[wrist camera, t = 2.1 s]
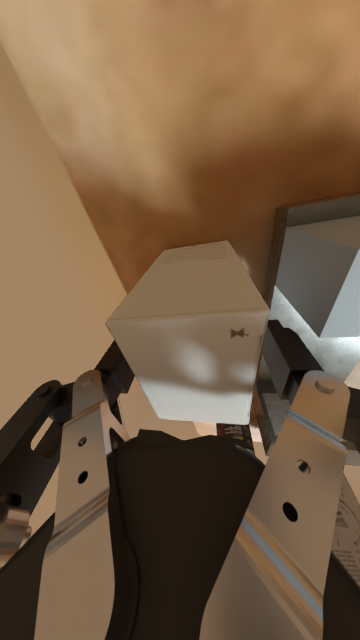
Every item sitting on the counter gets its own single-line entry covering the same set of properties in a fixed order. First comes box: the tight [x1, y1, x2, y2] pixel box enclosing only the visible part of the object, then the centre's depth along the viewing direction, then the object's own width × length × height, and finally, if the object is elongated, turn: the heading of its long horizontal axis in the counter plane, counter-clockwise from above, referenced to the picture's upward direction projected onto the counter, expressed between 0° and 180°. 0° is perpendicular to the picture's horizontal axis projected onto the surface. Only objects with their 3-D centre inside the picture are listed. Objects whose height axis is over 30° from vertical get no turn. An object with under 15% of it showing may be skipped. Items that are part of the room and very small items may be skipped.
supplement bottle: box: [216, 423, 255, 455], centre depth 26 cm, size 6×6×11 cm
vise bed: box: [252, 192, 360, 466], centre depth 14 cm, size 23×9×8 cm, turn 10°
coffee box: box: [331, 473, 360, 586], centre depth 22 cm, size 9×6×16 cm
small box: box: [106, 240, 270, 425], centre depth 11 cm, size 8×6×10 cm
